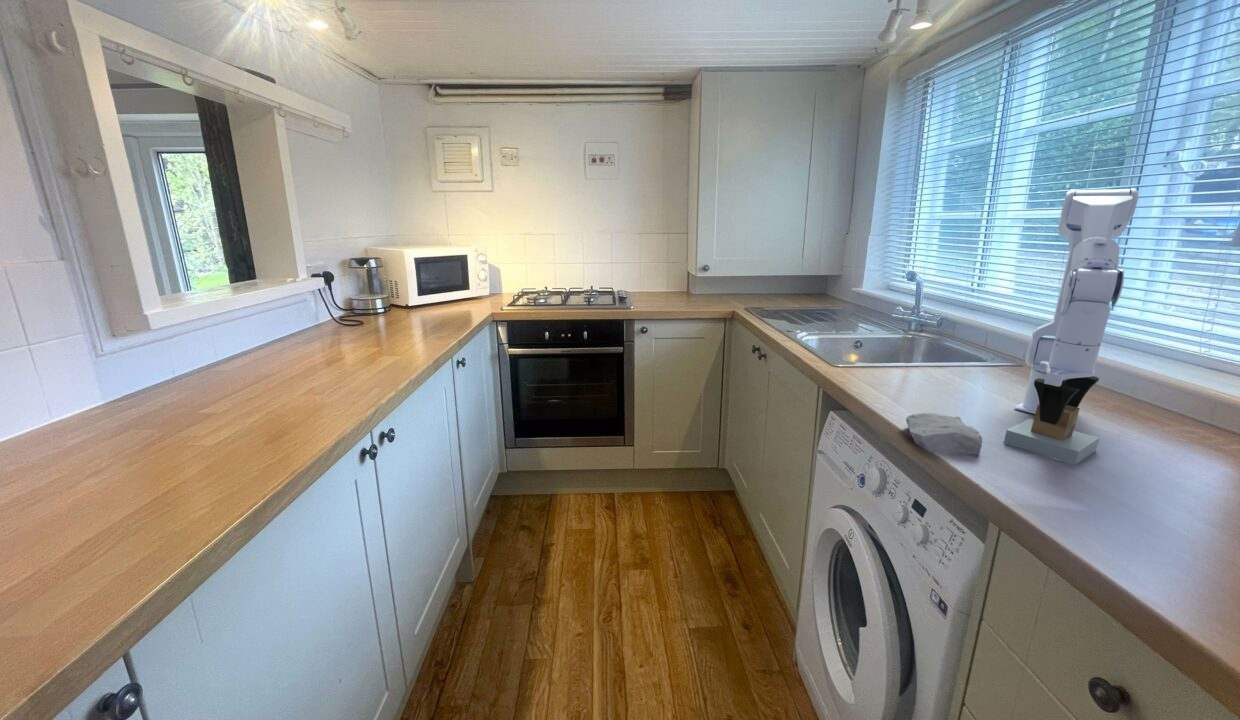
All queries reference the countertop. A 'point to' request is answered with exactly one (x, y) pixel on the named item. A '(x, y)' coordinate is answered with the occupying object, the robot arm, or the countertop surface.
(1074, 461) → the base slab
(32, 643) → the countertop surface
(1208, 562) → the countertop surface
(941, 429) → the stone block
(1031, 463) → the countertop surface
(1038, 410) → the walnut block
